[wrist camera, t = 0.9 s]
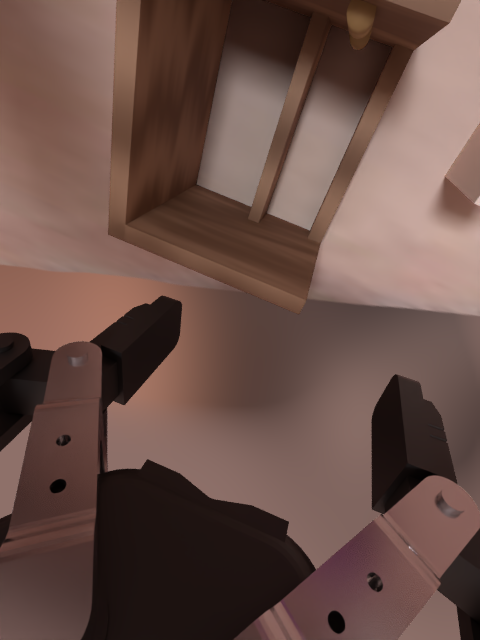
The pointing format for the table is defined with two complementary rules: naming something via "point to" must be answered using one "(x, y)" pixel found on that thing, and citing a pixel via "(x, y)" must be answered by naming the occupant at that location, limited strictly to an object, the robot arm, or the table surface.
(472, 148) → the door
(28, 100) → the table surface
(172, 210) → the cabinet
